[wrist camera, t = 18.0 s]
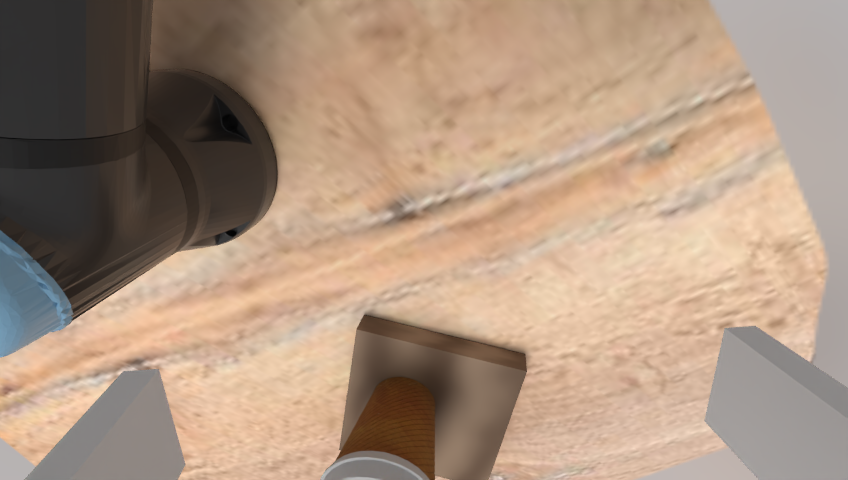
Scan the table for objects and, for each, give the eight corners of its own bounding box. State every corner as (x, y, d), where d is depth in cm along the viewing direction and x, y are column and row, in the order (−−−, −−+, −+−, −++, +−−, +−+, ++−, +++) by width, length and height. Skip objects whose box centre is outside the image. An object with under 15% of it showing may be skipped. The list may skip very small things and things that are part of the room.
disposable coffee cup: (437, 356, 41) (416, 467, 30) (462, 433, 45) (451, 558, 34) (343, 369, 44) (293, 476, 33) (373, 442, 47) (336, 561, 36)
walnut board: (346, 431, 50) (339, 449, 48) (364, 314, 44) (356, 329, 42) (485, 468, 49) (485, 488, 47) (525, 354, 43) (526, 371, 41)
